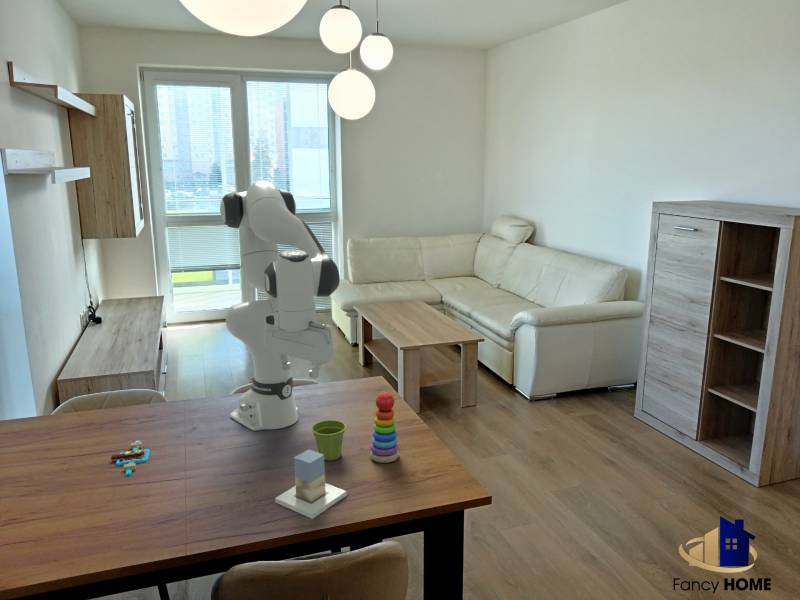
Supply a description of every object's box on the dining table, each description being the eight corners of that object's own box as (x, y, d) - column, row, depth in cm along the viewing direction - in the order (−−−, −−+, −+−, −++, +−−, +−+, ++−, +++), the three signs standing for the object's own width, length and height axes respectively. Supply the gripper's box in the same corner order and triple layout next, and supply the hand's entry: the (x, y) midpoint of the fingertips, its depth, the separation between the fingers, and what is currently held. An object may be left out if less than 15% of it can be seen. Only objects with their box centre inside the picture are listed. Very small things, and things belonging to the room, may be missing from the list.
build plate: (275, 502, 145) (275, 497, 145) (310, 481, 155) (310, 476, 154) (312, 518, 138) (312, 513, 138) (346, 495, 148) (346, 490, 148)
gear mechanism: (105, 480, 157) (144, 475, 159) (103, 461, 155) (142, 456, 158) (118, 446, 175) (152, 442, 178) (116, 429, 174) (150, 425, 177)
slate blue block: (295, 476, 144) (294, 457, 143) (309, 468, 148) (308, 449, 147) (310, 482, 142) (309, 463, 141) (324, 473, 146) (324, 454, 145)
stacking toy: (395, 465, 162) (395, 400, 158) (367, 462, 164) (365, 398, 160) (401, 452, 170) (401, 389, 166) (374, 449, 171) (372, 387, 167)
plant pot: (319, 467, 162) (318, 437, 160) (308, 452, 170) (306, 423, 168) (351, 459, 166) (351, 430, 164) (339, 445, 174) (338, 417, 172)
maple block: (296, 495, 146) (295, 476, 144) (310, 486, 150) (309, 468, 148) (311, 502, 143) (310, 482, 142) (325, 492, 147) (324, 473, 146)
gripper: (339, 322, 141) (340, 378, 144) (277, 310, 153) (280, 362, 156) (320, 328, 136) (322, 386, 139) (258, 315, 148) (261, 369, 151)
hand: (299, 373), depth 148 cm, fingers open, 8 cm apart
